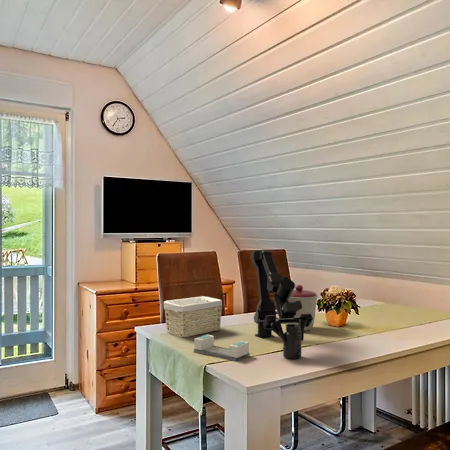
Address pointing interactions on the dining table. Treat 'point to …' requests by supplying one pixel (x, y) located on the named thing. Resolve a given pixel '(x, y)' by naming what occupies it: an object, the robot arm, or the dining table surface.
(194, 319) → the storage basket
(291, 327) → the supplement bottle
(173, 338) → the dining table surface
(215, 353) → the rail plate
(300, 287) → the canister
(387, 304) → the dining table surface
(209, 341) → the module pair
